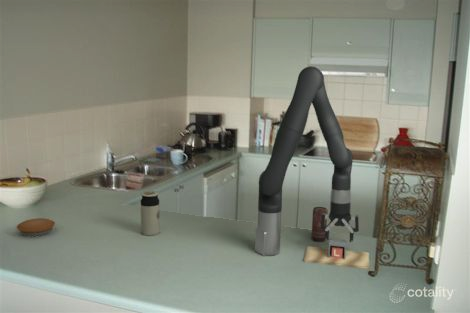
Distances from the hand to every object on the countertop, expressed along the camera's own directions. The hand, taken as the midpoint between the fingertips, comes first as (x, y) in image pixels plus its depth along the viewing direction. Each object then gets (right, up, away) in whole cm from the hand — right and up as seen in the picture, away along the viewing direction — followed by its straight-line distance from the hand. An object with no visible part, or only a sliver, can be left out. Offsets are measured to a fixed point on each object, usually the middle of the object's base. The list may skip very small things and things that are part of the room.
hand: (339, 240), depth 186 cm
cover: (-1, -6, +1) cm, 6 cm away
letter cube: (-1, -6, +1) cm, 6 cm away
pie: (-127, -1, +24) cm, 129 cm away
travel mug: (-78, -1, +26) cm, 82 cm away
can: (-4, -4, +21) cm, 22 cm away
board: (-1, -7, +1) cm, 7 cm away
